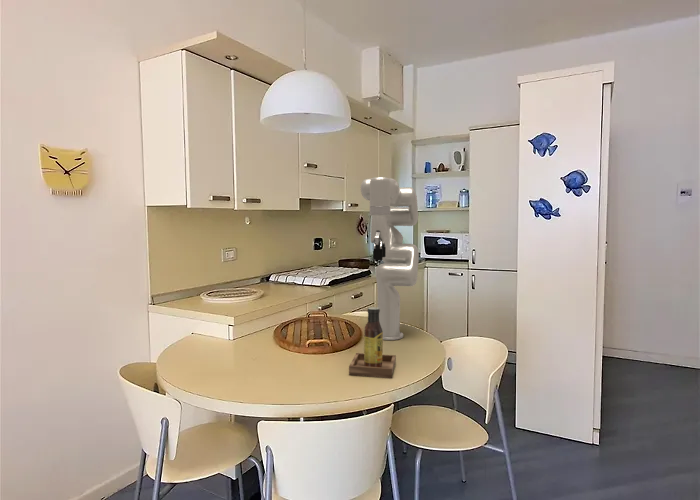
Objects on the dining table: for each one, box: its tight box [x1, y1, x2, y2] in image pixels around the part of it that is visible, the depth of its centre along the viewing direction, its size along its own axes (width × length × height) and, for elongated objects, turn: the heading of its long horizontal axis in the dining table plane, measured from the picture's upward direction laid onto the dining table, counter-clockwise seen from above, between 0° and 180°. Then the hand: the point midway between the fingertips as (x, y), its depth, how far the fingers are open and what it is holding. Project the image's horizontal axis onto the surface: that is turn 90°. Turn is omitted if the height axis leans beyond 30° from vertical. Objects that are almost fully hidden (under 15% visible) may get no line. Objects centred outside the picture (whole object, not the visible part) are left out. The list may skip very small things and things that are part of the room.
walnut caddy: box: [348, 352, 397, 379], centre depth 150 cm, size 14×14×3 cm
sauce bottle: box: [363, 306, 384, 367], centre depth 149 cm, size 7×6×20 cm
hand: (379, 258), depth 162 cm, fingers open, 9 cm apart
